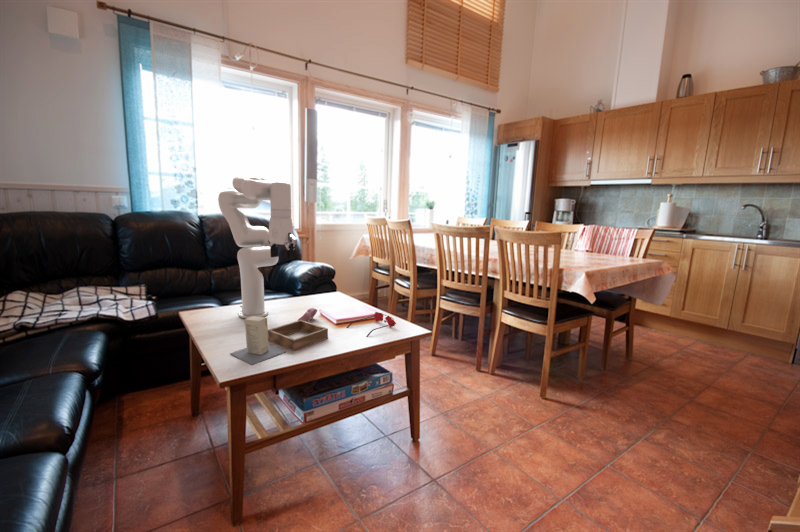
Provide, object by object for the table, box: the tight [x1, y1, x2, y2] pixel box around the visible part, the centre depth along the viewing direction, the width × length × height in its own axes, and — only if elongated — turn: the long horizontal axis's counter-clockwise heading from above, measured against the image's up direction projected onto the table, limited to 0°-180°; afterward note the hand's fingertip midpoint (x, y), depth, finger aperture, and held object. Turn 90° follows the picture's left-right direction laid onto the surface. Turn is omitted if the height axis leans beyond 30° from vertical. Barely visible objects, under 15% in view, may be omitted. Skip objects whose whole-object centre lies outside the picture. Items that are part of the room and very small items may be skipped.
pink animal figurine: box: [297, 307, 318, 323], centre depth 160 cm, size 10×5×7 cm, turn 169°
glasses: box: [346, 311, 397, 338], centre depth 155 cm, size 14×16×5 cm
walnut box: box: [268, 320, 329, 352], centre depth 140 cm, size 16×16×4 cm
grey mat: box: [230, 343, 286, 366], centre depth 126 cm, size 13×13×1 cm
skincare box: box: [244, 316, 270, 355], centre depth 126 cm, size 6×4×12 cm
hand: (282, 258), depth 142 cm, fingers open, 9 cm apart
